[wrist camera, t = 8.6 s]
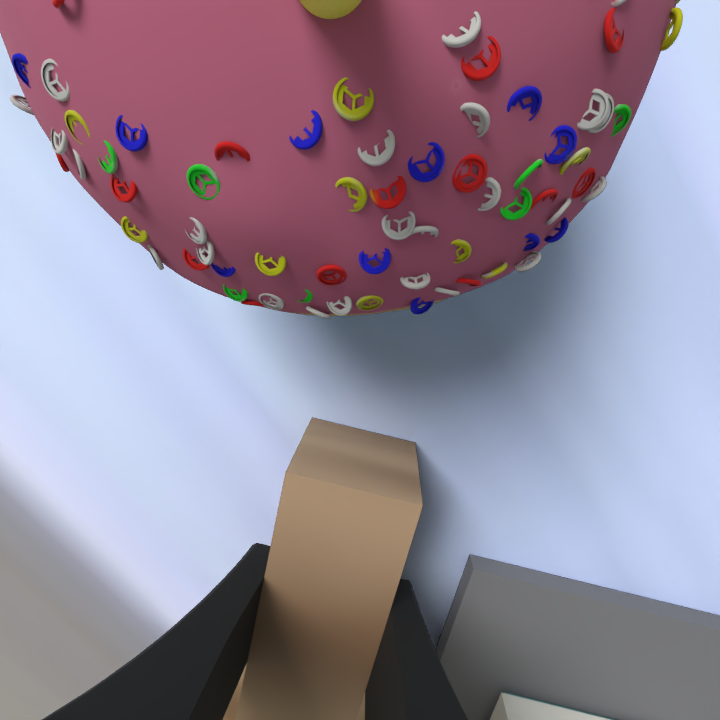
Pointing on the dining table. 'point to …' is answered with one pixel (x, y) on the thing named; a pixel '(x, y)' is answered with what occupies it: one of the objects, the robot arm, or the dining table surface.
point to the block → (535, 710)
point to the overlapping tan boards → (330, 575)
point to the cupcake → (338, 133)
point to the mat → (577, 647)
